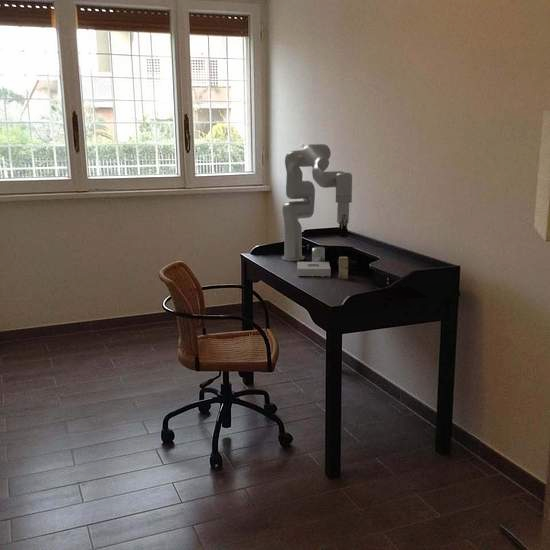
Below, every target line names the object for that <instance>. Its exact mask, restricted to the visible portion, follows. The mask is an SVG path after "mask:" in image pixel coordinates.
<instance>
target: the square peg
mask: <svg viewBox="0 0 550 550" xmlns="http://www.w3.org/2000/svg"><path fill="white" fill-rule="evenodd" d="M348 258H349V257H348V256H339V257H338V259H339V268H338V279H339V278H341V279H340V280H349V279H348V277H349V274H348Z"/></svg>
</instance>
